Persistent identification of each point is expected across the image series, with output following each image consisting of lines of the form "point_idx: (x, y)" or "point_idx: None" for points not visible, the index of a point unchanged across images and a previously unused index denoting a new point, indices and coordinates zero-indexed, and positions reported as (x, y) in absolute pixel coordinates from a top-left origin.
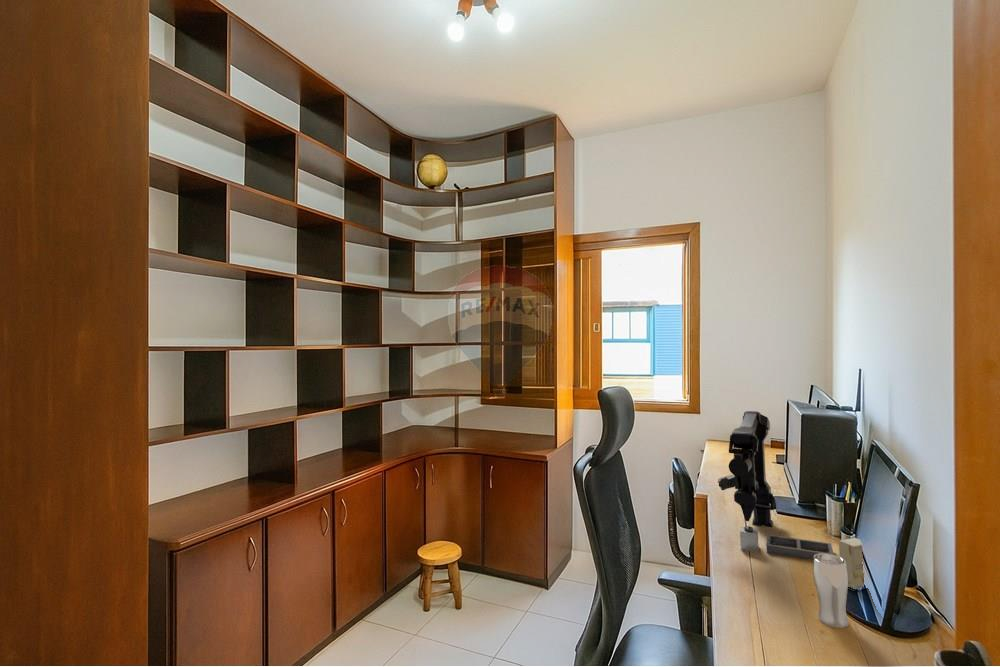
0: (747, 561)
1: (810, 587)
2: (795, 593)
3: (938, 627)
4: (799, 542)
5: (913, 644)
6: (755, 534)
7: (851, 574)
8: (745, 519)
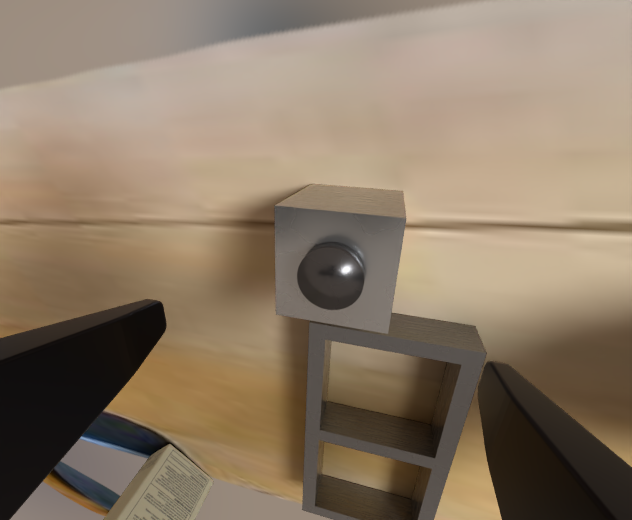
0: (188, 211)
1: None
2: None
3: (97, 509)
4: (398, 458)
5: None
6: (276, 304)
7: (120, 497)
8: (132, 307)
